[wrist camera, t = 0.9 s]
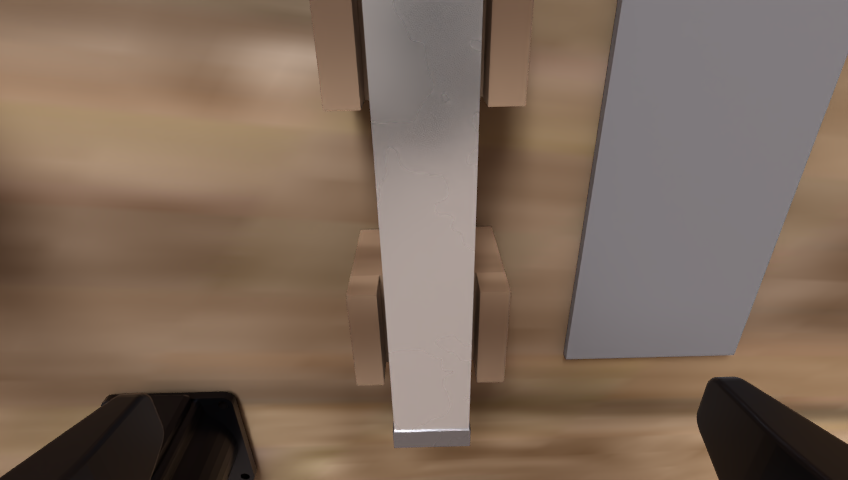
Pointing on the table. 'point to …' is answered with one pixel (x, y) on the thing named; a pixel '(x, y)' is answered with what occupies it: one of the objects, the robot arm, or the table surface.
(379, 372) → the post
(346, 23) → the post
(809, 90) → the mat
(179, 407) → the robot arm
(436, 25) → the rail
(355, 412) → the table surface
